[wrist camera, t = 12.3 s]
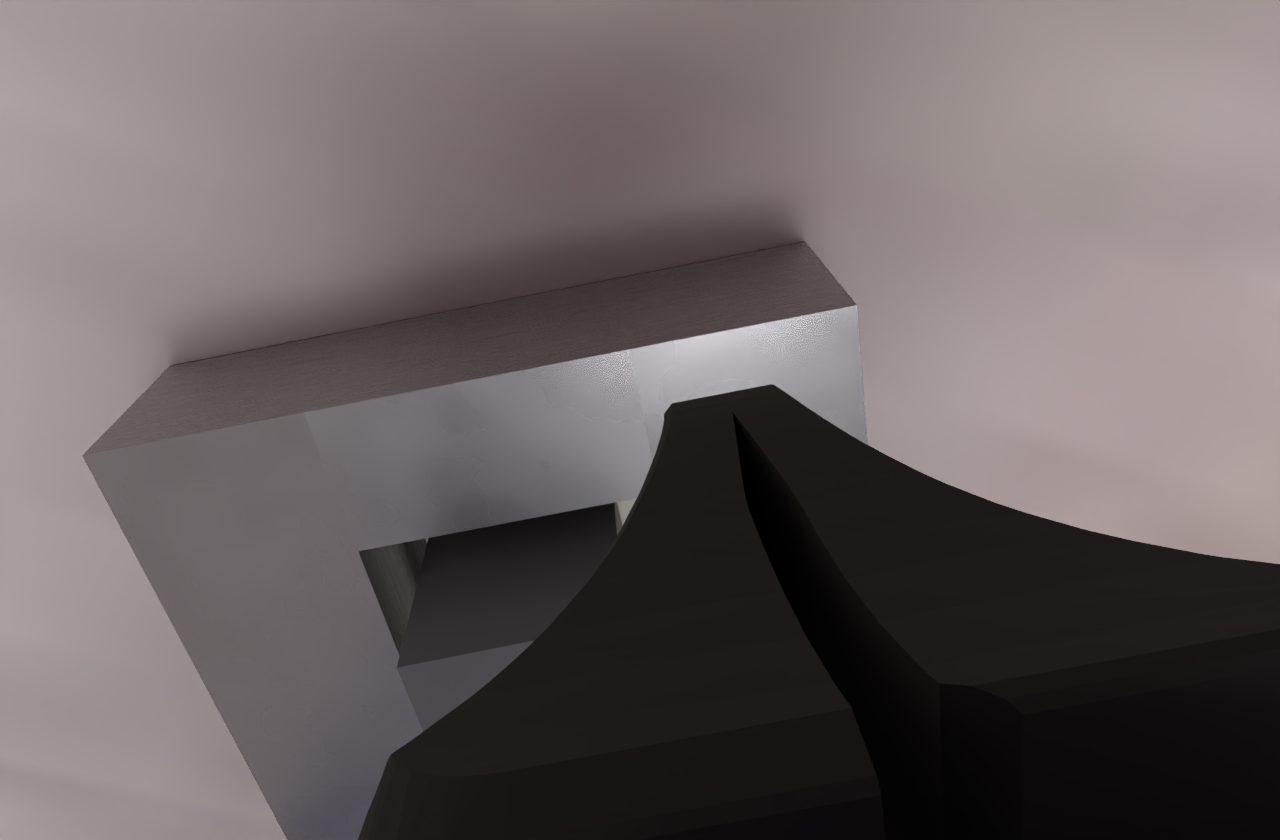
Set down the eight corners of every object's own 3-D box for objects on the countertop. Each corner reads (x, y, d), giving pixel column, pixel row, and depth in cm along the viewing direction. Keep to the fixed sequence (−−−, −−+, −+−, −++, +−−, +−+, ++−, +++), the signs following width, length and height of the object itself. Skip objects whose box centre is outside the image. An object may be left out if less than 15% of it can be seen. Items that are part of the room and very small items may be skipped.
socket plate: (360, 780, 26) (326, 912, 22) (170, 366, 20) (82, 455, 16) (849, 689, 25) (894, 808, 22) (805, 241, 20) (856, 305, 16)
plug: (496, 664, 23) (475, 857, 18) (438, 499, 21) (396, 667, 16) (652, 633, 23) (674, 818, 18) (611, 463, 21) (624, 622, 16)
